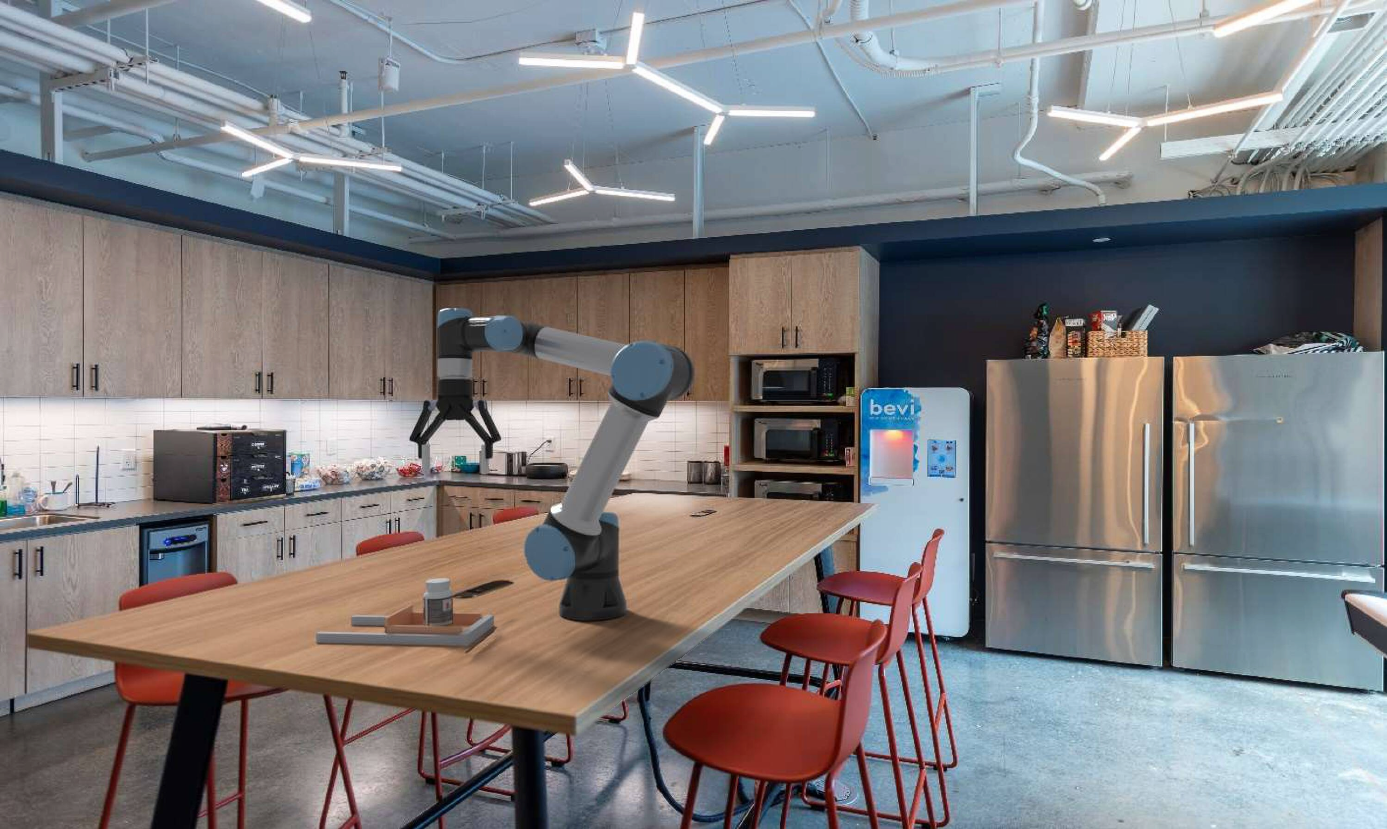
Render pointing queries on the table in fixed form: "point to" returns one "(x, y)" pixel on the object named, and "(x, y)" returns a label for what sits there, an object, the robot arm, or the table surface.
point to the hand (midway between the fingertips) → (455, 473)
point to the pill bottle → (438, 603)
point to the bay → (408, 639)
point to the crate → (413, 624)
